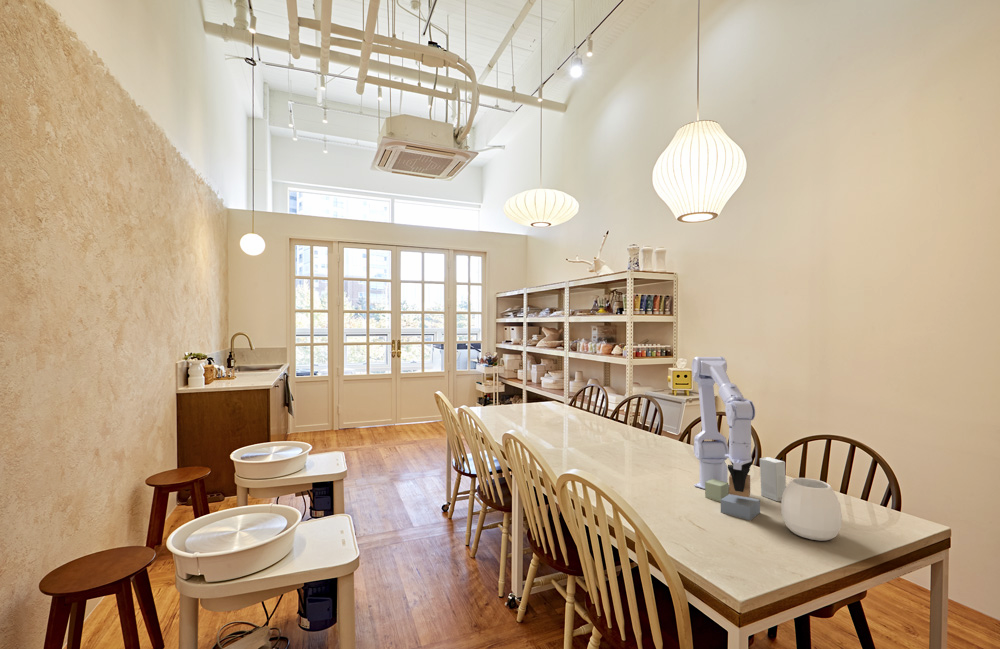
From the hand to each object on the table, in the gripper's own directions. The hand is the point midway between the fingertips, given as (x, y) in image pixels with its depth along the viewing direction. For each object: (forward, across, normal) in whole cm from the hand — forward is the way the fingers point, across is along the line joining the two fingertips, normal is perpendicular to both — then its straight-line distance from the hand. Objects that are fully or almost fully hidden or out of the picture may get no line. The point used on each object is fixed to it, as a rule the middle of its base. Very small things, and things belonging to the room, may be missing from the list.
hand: (740, 488), depth 136 cm
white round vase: (+7, +6, +17) cm, 19 cm away
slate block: (+7, 0, 0) cm, 7 cm away
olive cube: (+7, -9, -8) cm, 14 cm away
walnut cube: (+2, 0, 0) cm, 2 cm away
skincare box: (+7, -19, +7) cm, 21 cm away
